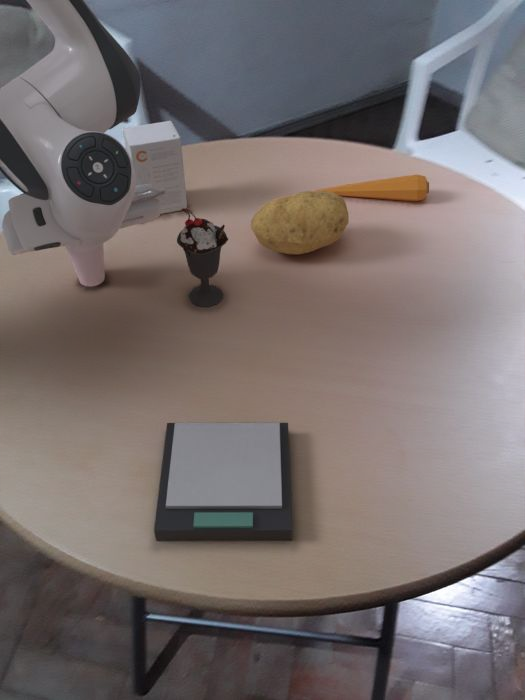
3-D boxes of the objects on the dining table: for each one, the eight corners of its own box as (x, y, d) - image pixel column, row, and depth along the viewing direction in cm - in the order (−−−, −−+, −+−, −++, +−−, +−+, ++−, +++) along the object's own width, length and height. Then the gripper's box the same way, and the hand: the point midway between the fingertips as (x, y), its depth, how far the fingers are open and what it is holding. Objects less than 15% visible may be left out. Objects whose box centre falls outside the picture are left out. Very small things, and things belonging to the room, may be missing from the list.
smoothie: (63, 290, 98) (42, 207, 89) (78, 263, 103) (59, 181, 93) (106, 294, 98) (90, 211, 88) (119, 267, 102) (104, 185, 93)
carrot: (426, 198, 118) (427, 172, 116) (429, 203, 113) (430, 175, 112) (311, 202, 120) (310, 176, 118) (309, 207, 116) (308, 180, 114)
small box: (178, 190, 118) (171, 119, 109) (188, 210, 114) (181, 137, 104) (132, 198, 116) (121, 127, 107) (140, 218, 112) (129, 145, 102)
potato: (344, 270, 102) (350, 216, 96) (249, 262, 103) (248, 209, 97) (346, 231, 109) (352, 179, 103) (257, 225, 110) (257, 172, 104)
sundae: (172, 296, 98) (162, 206, 87) (207, 275, 101) (201, 186, 90) (203, 318, 94) (196, 227, 84) (238, 295, 98) (236, 206, 87)
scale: (155, 540, 70) (153, 527, 68) (168, 433, 80) (166, 419, 78) (291, 540, 70) (292, 527, 68) (287, 433, 80) (288, 419, 78)
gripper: (161, 164, 85) (145, 193, 98) (-6, 201, 79) (0, 228, 92) (176, 212, 86) (158, 235, 99) (11, 253, 79) (15, 272, 92)
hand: (81, 232), depth 95 cm, fingers closed on smoothie, 6 cm apart
